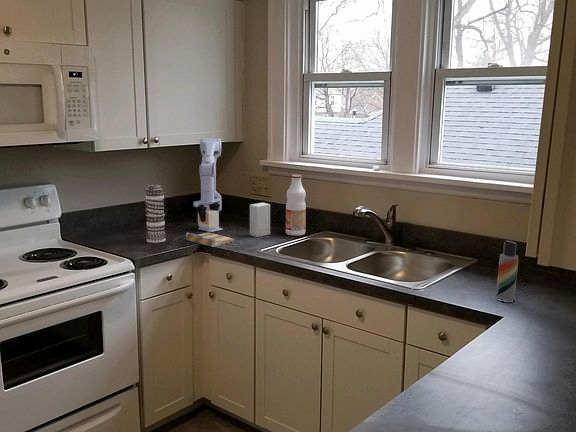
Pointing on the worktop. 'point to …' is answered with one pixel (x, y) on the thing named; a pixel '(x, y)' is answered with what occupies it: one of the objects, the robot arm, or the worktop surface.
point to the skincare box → (259, 219)
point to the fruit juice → (296, 207)
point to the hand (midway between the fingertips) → (207, 220)
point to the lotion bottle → (507, 272)
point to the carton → (209, 219)
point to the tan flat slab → (209, 239)
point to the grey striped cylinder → (155, 213)
